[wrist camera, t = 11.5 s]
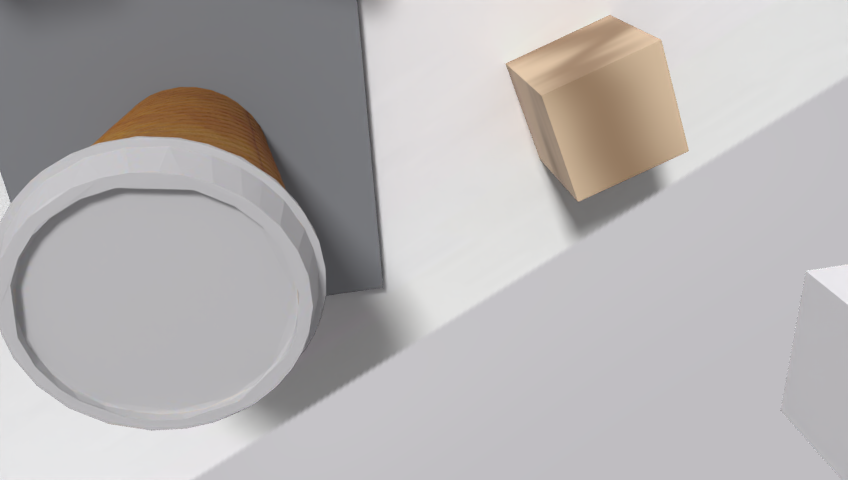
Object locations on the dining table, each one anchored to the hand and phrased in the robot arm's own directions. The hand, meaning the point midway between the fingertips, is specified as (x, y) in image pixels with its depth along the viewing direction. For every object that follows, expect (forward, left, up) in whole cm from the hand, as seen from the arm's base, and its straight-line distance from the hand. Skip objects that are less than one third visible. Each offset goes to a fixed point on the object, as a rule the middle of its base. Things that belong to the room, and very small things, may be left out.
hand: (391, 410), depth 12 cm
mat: (+5, +4, -23) cm, 24 cm away
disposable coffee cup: (+5, +4, -23) cm, 24 cm away
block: (-12, +3, -23) cm, 26 cm away
